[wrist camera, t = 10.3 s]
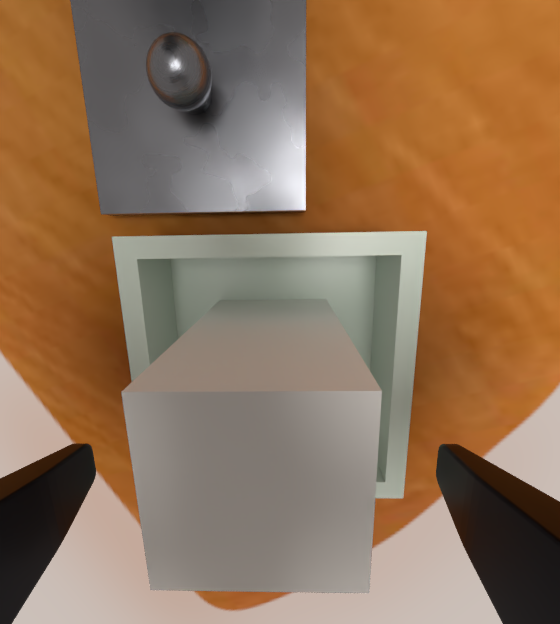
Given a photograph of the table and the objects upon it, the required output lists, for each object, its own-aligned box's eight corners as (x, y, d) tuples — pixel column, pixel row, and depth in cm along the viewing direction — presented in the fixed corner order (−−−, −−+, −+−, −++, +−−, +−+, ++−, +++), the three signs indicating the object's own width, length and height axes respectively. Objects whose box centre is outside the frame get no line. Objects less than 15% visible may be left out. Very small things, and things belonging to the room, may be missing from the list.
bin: (157, 236, 15) (111, 236, 11) (390, 232, 15) (427, 231, 11) (178, 439, 18) (147, 496, 14) (377, 439, 17) (403, 498, 13)
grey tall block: (225, 396, 16) (150, 590, 7) (219, 300, 15) (121, 392, 6) (324, 396, 16) (369, 593, 7) (326, 298, 15) (381, 390, 6)
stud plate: (82, -17, 13) (-3, -120, 9) (304, -26, 12) (311, -137, 9) (113, 215, 15) (55, 208, 11) (304, 211, 15) (310, 203, 11)
